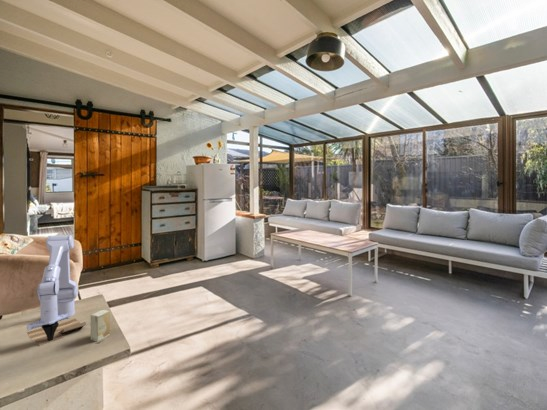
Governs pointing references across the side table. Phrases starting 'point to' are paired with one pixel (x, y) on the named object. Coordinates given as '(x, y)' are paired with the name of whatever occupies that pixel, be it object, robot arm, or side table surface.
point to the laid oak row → (35, 333)
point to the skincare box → (100, 325)
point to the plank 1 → (44, 340)
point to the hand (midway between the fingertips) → (50, 340)
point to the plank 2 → (73, 327)
